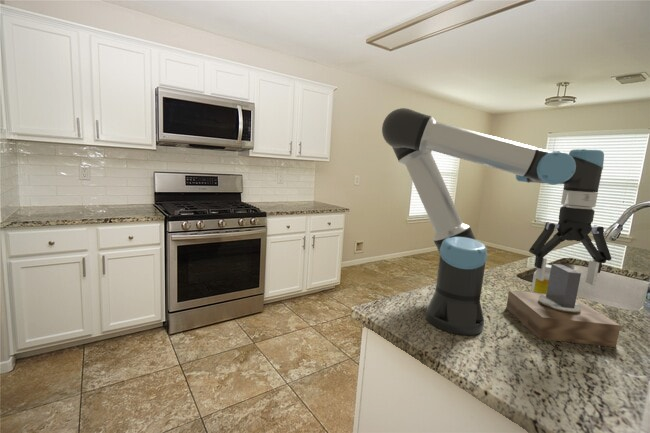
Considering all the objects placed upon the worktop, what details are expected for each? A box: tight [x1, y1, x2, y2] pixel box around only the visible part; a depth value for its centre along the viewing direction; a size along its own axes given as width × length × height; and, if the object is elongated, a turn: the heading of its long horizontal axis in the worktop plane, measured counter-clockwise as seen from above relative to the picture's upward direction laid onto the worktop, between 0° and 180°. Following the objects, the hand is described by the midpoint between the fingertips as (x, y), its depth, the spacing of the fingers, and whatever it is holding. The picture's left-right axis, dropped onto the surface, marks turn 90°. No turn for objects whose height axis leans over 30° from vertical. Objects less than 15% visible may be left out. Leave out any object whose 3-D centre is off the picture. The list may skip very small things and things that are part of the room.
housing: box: [506, 290, 621, 348], centre depth 93 cm, size 19×19×6 cm
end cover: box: [538, 263, 582, 313], centre depth 92 cm, size 10×10×16 cm
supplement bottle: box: [530, 263, 552, 294], centre depth 111 cm, size 7×7×13 cm
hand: (564, 281), depth 92 cm, fingers open, 13 cm apart
